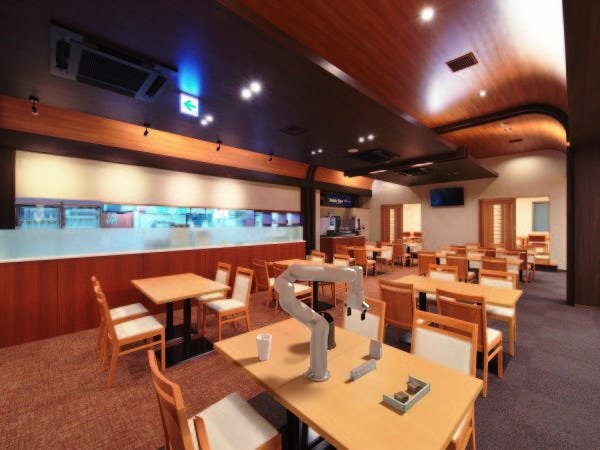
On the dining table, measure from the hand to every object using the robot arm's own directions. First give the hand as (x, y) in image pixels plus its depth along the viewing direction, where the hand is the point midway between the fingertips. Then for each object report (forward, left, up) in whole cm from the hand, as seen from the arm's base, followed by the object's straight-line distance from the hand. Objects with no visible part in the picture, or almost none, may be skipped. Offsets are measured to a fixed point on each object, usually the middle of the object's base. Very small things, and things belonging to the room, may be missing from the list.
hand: (355, 317), depth 155 cm
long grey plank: (-2, -7, -29) cm, 29 cm away
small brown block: (+4, -32, -28) cm, 43 cm away
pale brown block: (+20, 0, -29) cm, 35 cm away
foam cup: (-34, +43, -28) cm, 62 cm away
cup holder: (+5, +31, -29) cm, 42 cm away
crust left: (-8, -32, -28) cm, 44 cm away
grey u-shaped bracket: (-2, -32, -29) cm, 43 cm away
